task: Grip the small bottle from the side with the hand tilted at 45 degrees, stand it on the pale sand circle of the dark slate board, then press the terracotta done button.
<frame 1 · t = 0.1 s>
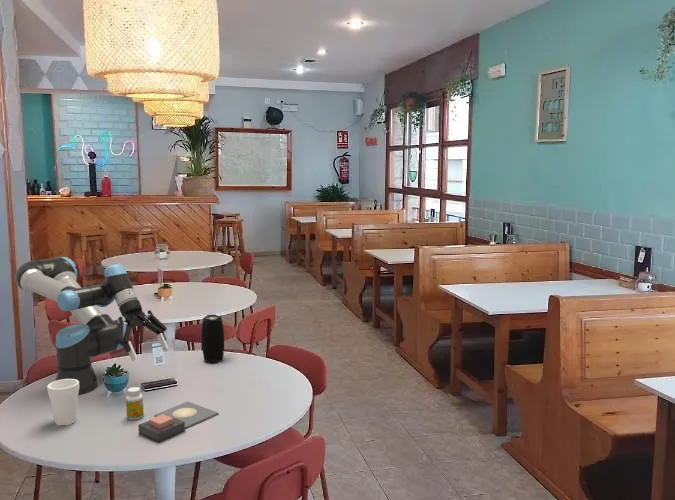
hand: (150, 354, 219), 15 cm above the table, tool tilted 35°, fingers open, 13 cm apart
button housing: (162, 432, 191), on the table
foam cup: (66, 422, 199), on the table
supplement bottle: (135, 417, 203), on the table
portable speaker: (213, 361, 259), on the table
slate board: (186, 415, 204), on the table
done button: (161, 421, 191), point 3 cm above the table, slide at 0.0 cm
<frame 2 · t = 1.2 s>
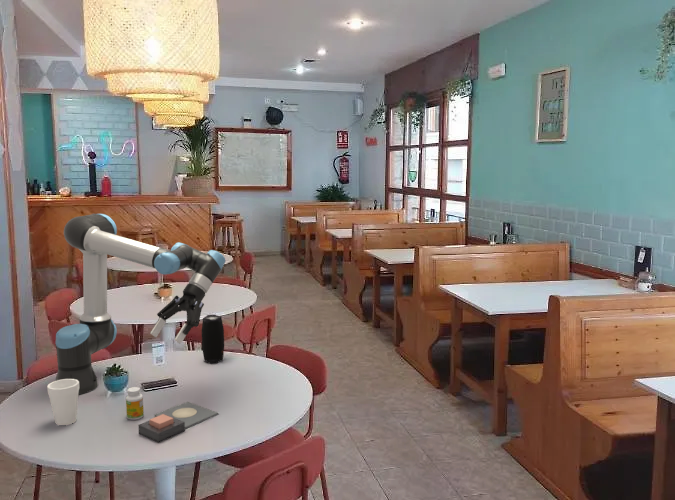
hand: (165, 338, 210), 24 cm above the table, tool tilted 45°, fingers open, 13 cm apart
nothing on the table moved.
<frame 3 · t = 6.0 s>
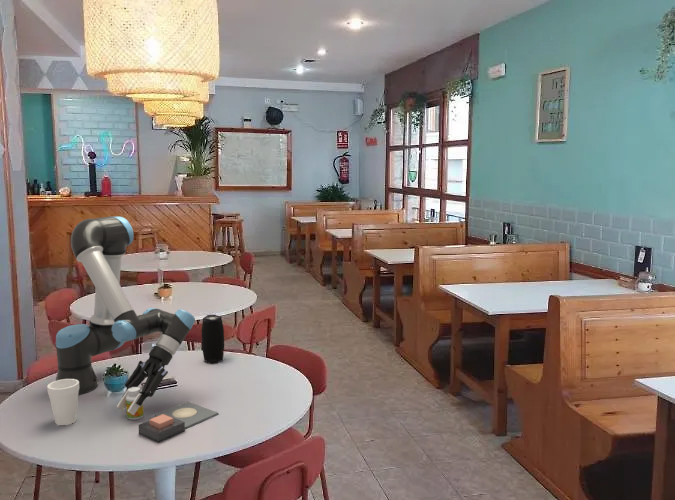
hand: (125, 410, 200), 3 cm above the table, tool tilted 45°, fingers closed on supplement bottle, 5 cm apart
supplement bottle: (135, 417, 203), on the table, touching gripper
everything else where it was.
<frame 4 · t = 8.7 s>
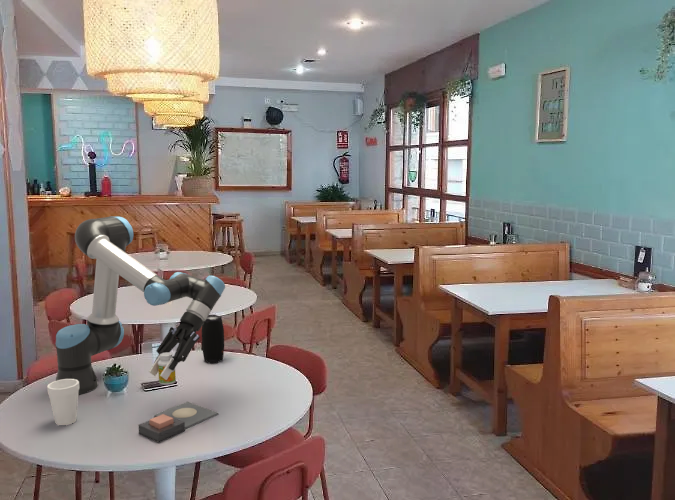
hand: (157, 375, 198), 15 cm above the table, tool tilted 45°, fingers closed on supplement bottle, 5 cm apart
supplement bottle: (167, 382, 202), point 12 cm above the table, touching gripper
everything else where it was.
when the fingers open (5 cm above the table, at t = 11.5 s): supplement bottle drops 1 cm, resting on slate board.
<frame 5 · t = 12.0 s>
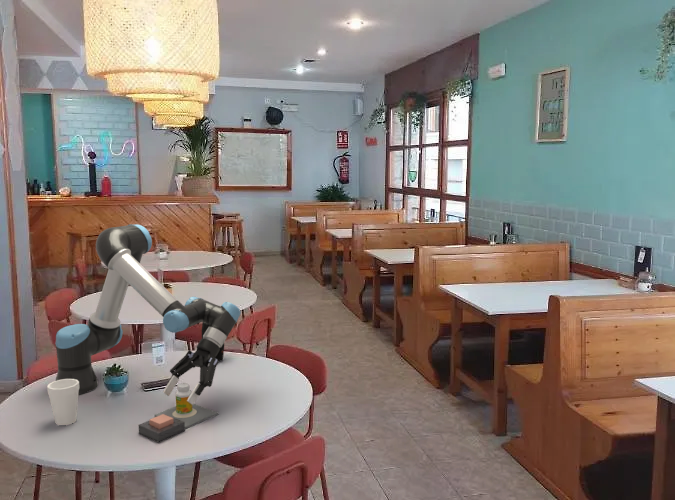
hand: (177, 398, 201), 7 cm above the table, tool tilted 45°, fingers open, 12 cm apart
supplement bottle: (184, 413, 205), point 1 cm above the table, touching slate board
everything else where it was.
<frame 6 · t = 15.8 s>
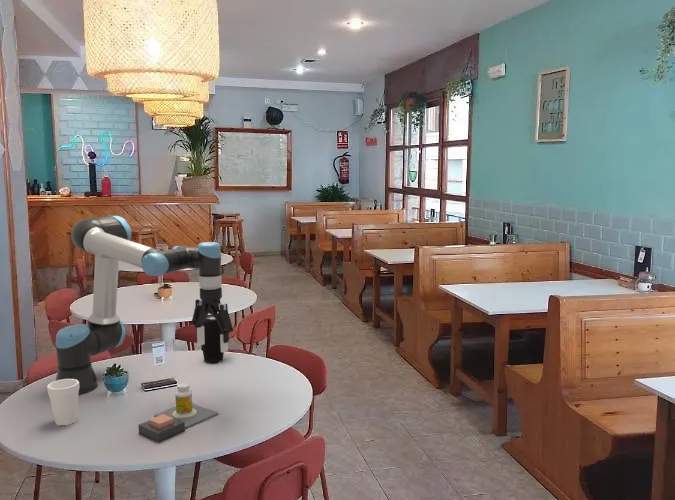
hand: (212, 348, 212), 20 cm above the table, tool pointing down, fingers open, 11 cm apart
nothing on the table moved.
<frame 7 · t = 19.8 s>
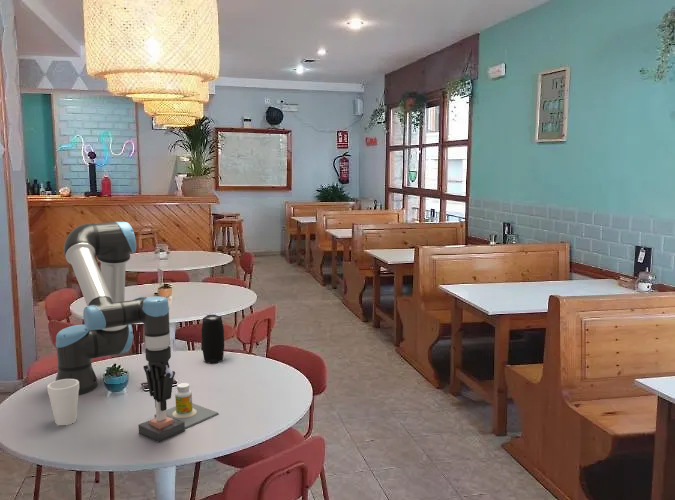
hand: (161, 419, 190), 4 cm above the table, tool pointing down, fingers closed
done button: (161, 422, 191), point 3 cm above the table, slide at 0.3 cm, touching gripper
everything else where it was.
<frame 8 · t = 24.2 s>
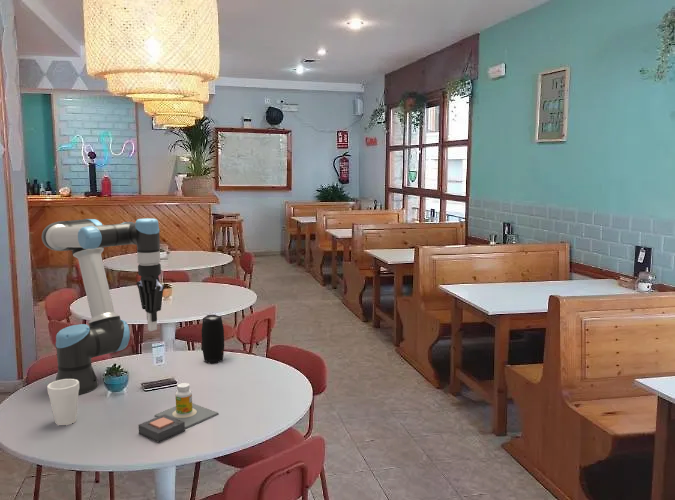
hand: (152, 329, 211), 26 cm above the table, tool pointing down, fingers closed
done button: (161, 425, 191), point 2 cm above the table, slide at 1.1 cm
everything else where it was.
at the end: supplement bottle inside the target area (0.2 cm from its centre), point 0.5 cm above the table; supplement bottle tilted 0°; done button slide at 1.1 cm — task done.
